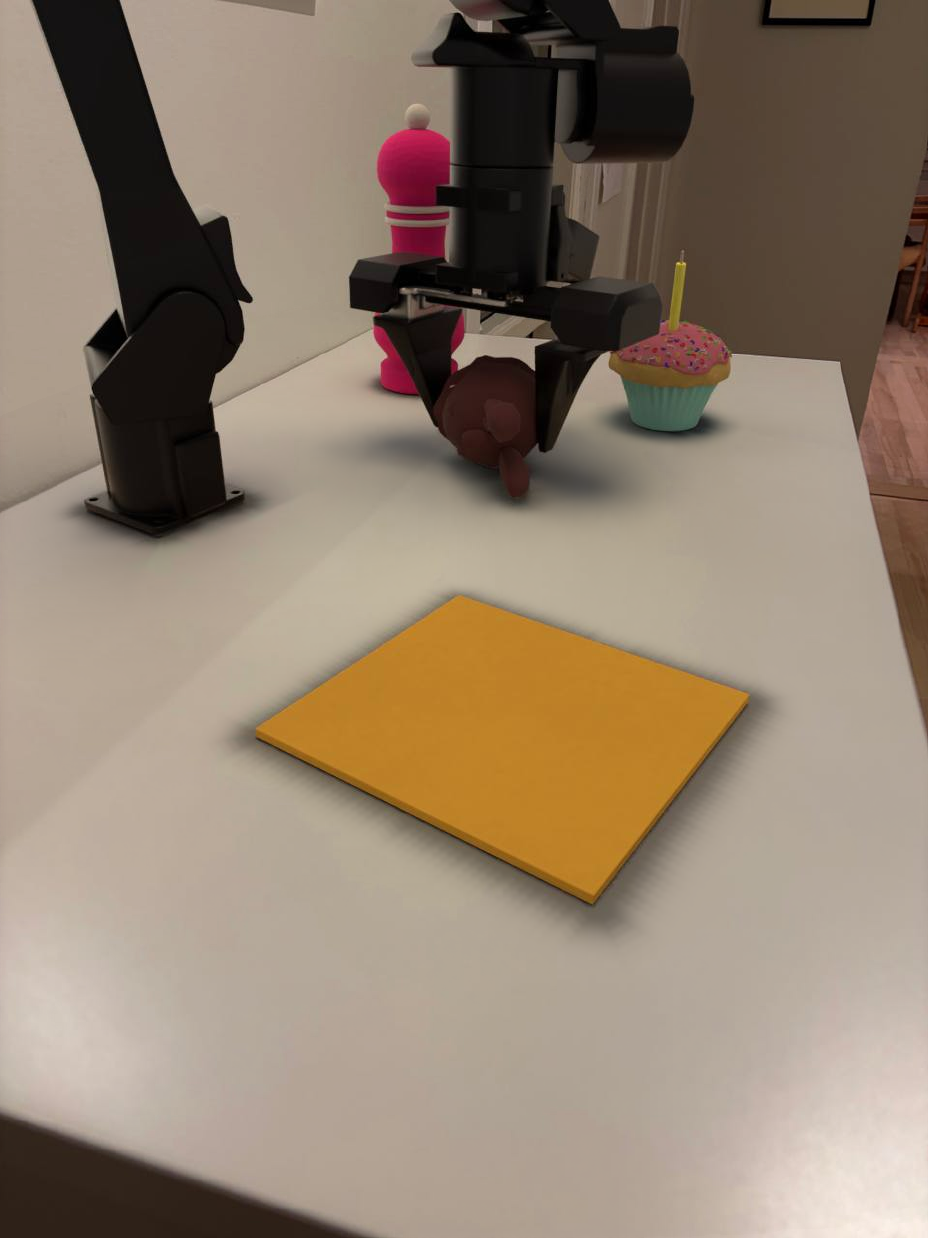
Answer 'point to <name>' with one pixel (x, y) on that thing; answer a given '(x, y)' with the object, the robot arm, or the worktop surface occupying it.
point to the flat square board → (514, 738)
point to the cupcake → (672, 369)
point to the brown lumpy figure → (492, 416)
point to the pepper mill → (414, 216)
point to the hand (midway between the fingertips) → (492, 438)
